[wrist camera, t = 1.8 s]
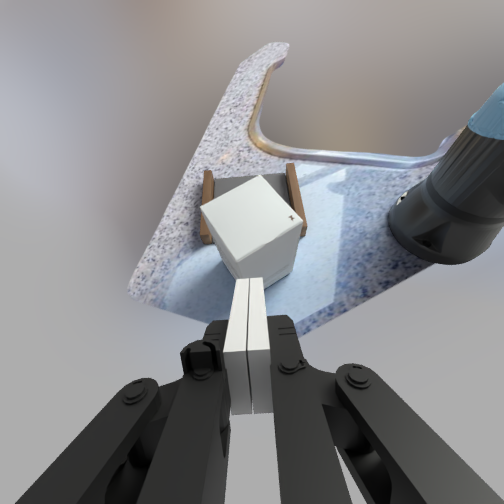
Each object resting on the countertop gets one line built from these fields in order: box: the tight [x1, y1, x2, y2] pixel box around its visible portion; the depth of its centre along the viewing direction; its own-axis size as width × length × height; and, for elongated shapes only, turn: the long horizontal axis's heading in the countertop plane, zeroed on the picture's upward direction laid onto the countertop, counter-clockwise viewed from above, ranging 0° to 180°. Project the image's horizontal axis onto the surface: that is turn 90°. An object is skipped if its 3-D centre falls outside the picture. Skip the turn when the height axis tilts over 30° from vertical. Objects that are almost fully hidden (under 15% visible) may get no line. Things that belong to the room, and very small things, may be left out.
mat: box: [213, 173, 291, 243], centre depth 46 cm, size 15×16×1 cm
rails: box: [200, 163, 307, 244], centre depth 45 cm, size 18×16×3 cm
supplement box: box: [200, 175, 303, 289], centre depth 33 cm, size 9×9×15 cm
